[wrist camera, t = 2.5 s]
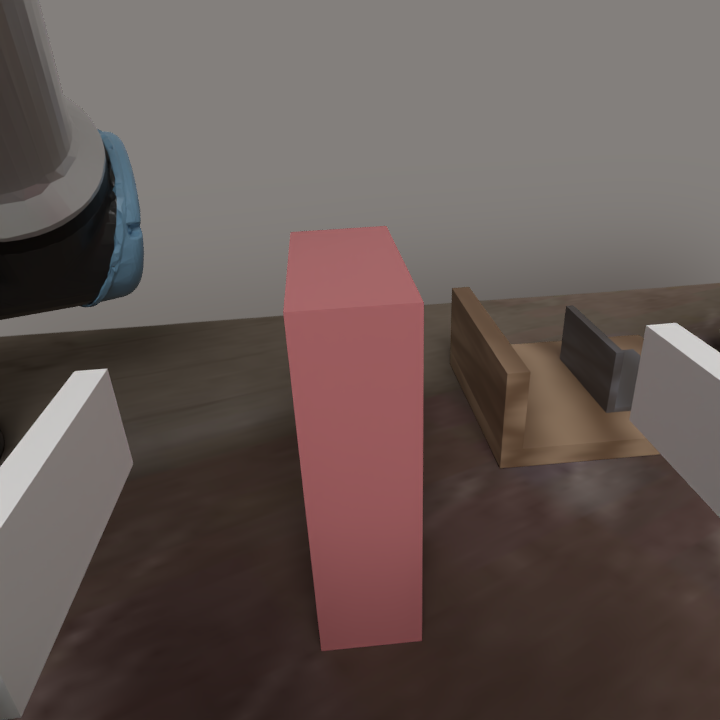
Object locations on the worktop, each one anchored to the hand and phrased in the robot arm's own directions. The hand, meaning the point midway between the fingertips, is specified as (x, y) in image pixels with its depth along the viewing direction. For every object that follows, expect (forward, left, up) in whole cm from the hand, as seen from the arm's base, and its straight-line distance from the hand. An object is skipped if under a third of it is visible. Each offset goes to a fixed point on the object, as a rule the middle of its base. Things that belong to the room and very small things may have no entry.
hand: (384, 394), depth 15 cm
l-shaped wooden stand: (+5, +33, -18) cm, 38 cm away
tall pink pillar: (-6, +11, -18) cm, 22 cm away
